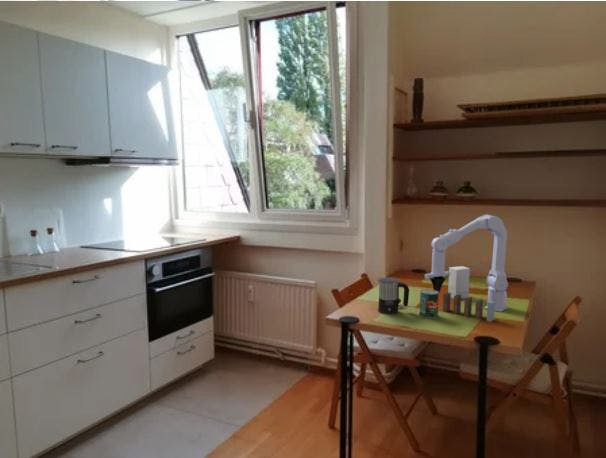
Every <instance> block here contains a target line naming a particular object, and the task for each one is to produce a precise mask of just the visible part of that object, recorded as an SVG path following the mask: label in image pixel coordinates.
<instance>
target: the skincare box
mask: <svg viewBox="0 0 606 458" xmlns="http://www.w3.org/2000/svg"><path fill="white" fill-rule="evenodd" d="M448 271H449V272H450V276H448V287H447V289H448V290H447V292H448V293H451V299H453V300H454V296H455V295H461V300H463V299H464V300H465V298H466V297H470V295H469V294H470V293H469V291H470V289H469V288H470V274H471V273H470V272H471V268H469V267H467V266H462V265H461V266H451V267H450V266H448Z"/></svg>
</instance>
